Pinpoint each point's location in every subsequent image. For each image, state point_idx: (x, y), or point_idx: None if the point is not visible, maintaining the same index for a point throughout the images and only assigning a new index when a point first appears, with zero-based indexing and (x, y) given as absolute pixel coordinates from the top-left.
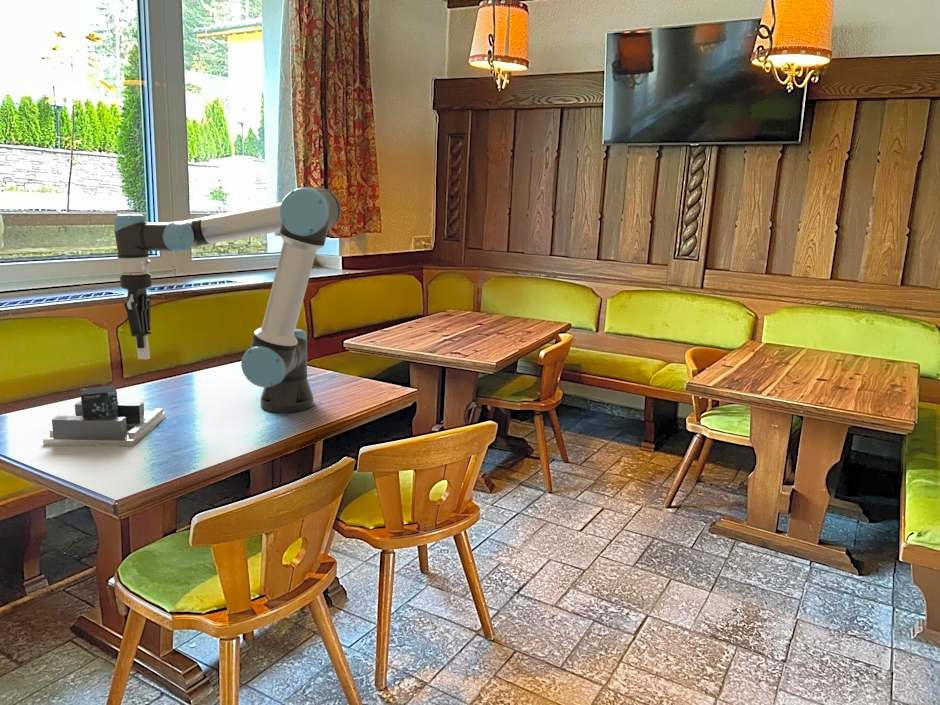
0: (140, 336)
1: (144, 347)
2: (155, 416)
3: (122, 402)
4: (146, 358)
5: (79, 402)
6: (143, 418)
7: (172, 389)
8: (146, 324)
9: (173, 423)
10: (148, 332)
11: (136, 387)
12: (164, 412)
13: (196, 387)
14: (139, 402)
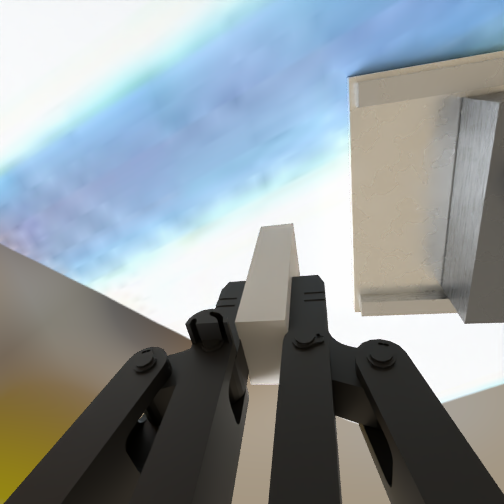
0: (336, 345)
1: (292, 275)
2: (441, 68)
3: (495, 188)
4: (293, 233)
5: (484, 318)
6: (481, 96)
7: (81, 201)
8: (199, 414)
9: (417, 3)
10: (226, 331)
11: (109, 294)
12: (354, 77)
13: (30, 139)
14: (501, 119)
